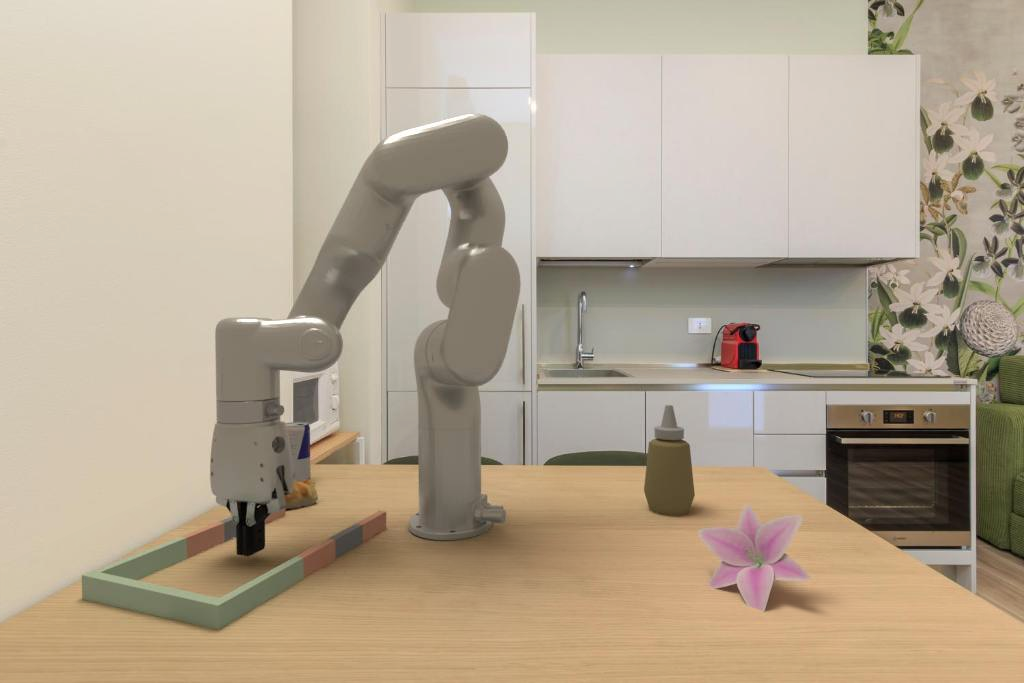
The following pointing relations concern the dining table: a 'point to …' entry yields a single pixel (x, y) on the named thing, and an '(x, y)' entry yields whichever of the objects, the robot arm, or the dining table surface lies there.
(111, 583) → the striped u-shaped rail
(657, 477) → the squeeze bottle
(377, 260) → the robot arm
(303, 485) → the pastry
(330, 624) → the dining table surface
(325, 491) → the dining table surface
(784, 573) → the lily
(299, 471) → the energy drink
